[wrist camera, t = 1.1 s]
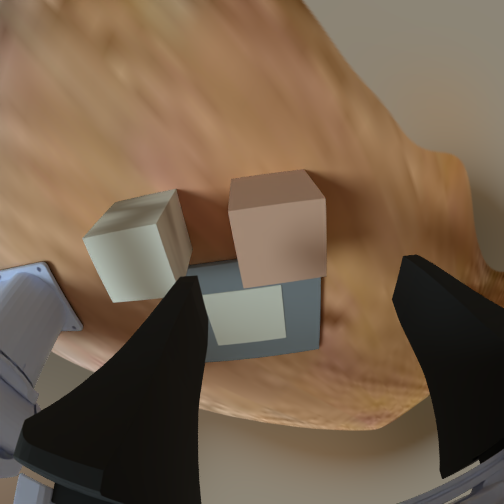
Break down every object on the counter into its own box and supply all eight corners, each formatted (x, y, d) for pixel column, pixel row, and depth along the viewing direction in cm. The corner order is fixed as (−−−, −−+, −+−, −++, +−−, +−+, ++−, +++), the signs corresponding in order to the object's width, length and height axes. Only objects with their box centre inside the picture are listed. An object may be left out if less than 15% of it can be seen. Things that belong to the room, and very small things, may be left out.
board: (194, 359, 26) (194, 363, 26) (155, 269, 20) (153, 273, 20) (318, 345, 26) (319, 349, 25) (319, 247, 20) (320, 250, 19)
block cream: (135, 257, 20) (113, 302, 16) (115, 201, 17) (82, 238, 13) (192, 248, 20) (181, 295, 15) (176, 188, 17) (155, 223, 13)
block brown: (242, 241, 19) (243, 288, 15) (231, 178, 17) (227, 211, 13) (307, 232, 19) (326, 276, 15) (303, 169, 17) (325, 198, 13)
